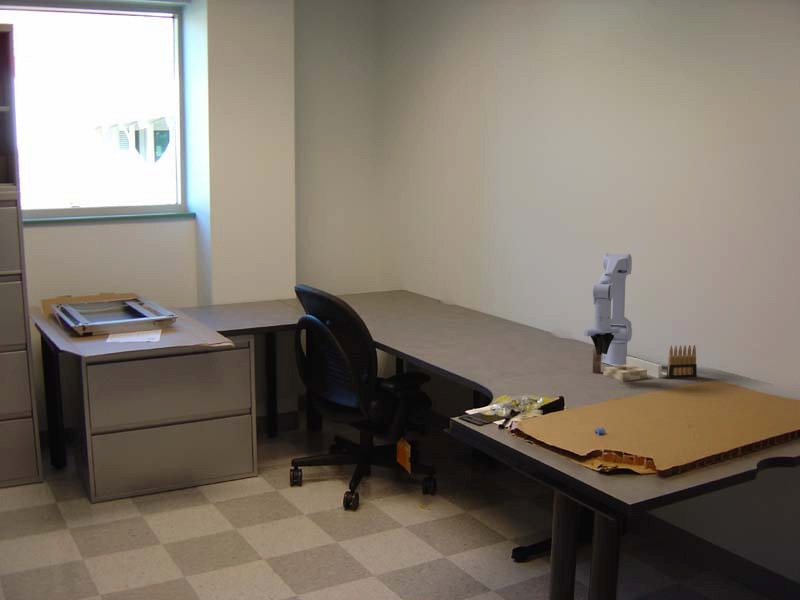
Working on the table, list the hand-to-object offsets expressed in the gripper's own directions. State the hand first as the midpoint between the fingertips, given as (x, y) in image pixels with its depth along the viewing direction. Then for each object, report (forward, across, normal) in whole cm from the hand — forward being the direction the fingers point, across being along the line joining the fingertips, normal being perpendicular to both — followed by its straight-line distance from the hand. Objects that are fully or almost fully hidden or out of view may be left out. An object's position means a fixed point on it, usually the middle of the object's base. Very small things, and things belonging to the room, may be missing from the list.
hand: (601, 354), depth 310 cm
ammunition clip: (+10, +28, -11) cm, 31 cm away
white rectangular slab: (+9, +22, +1) cm, 24 cm away
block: (+9, +11, 0) cm, 14 cm away
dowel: (+9, +6, +10) cm, 15 cm away
